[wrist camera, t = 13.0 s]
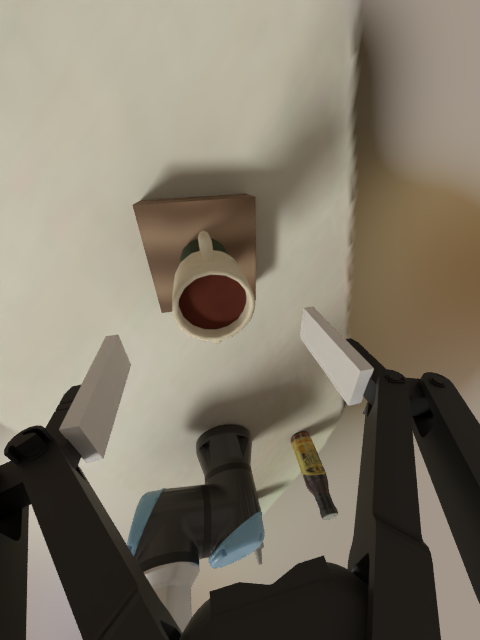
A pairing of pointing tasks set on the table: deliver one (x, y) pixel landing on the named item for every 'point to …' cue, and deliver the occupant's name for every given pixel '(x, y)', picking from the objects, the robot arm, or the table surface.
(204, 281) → the character mug
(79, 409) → the robot arm
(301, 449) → the sauce bottle
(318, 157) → the table surface
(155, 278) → the walnut stand
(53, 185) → the table surface
